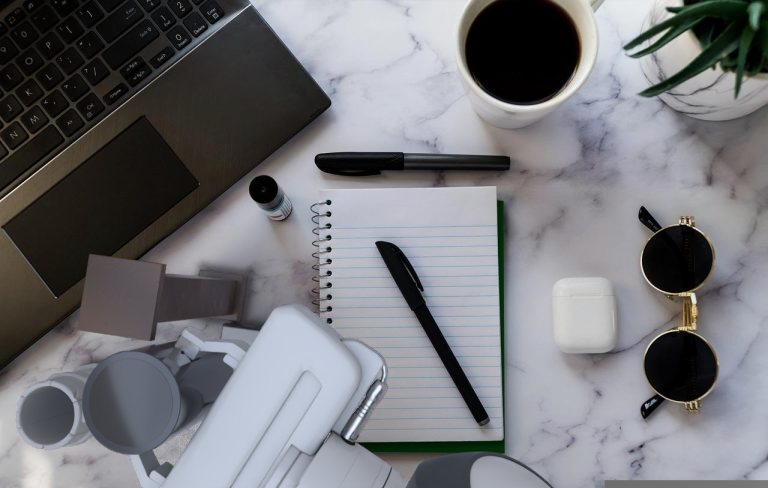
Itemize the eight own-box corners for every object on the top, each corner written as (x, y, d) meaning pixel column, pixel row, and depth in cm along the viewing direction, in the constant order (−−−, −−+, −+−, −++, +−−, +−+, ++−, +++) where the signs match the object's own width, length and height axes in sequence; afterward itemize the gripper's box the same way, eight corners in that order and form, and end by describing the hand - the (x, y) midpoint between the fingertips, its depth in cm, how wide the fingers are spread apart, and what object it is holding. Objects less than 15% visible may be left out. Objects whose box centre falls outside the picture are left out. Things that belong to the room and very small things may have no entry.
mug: (70, 360, 69) (-7, 374, 57) (176, 364, 68) (120, 379, 56) (66, 432, 69) (-13, 462, 57) (173, 437, 67) (115, 469, 56)
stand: (244, 325, 68) (150, 341, 46) (193, 317, 68) (76, 330, 46) (252, 272, 68) (162, 263, 46) (201, 265, 69) (89, 253, 47)
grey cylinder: (228, 425, 49) (172, 463, 39) (148, 412, 50) (73, 446, 40) (239, 342, 49) (187, 358, 39) (160, 330, 50) (89, 343, 40)
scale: (288, 395, 67) (280, 400, 63) (221, 384, 67) (210, 389, 64) (297, 331, 67) (289, 333, 64) (230, 322, 68) (220, 323, 65)
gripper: (399, 375, 39) (216, 254, 41) (221, 654, 39) (45, 524, 41) (405, 361, 46) (247, 257, 47) (251, 602, 46) (98, 491, 47)
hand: (152, 383), depth 44 cm, fingers closed on grey cylinder, 6 cm apart
